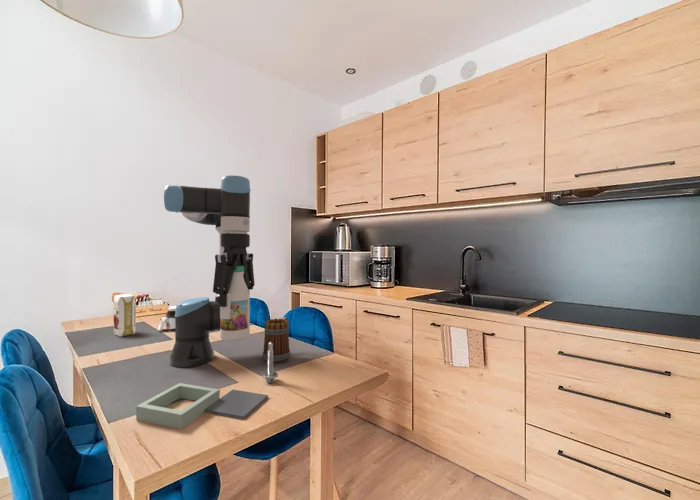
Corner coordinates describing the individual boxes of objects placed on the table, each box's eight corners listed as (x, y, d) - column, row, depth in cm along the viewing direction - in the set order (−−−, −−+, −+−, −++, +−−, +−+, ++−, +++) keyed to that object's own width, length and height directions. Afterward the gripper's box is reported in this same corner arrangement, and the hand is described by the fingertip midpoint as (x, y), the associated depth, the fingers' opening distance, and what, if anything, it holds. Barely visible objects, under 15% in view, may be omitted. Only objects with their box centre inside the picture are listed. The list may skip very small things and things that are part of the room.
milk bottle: (225, 333, 92) (225, 264, 91) (252, 333, 92) (252, 264, 92) (216, 341, 84) (216, 266, 84) (245, 341, 85) (246, 266, 84)
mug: (283, 365, 118) (283, 325, 117) (257, 362, 120) (257, 323, 120) (298, 351, 133) (299, 315, 133) (275, 349, 135) (275, 314, 135)
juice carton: (130, 330, 160) (130, 293, 160) (137, 333, 155) (137, 295, 154) (112, 334, 154) (112, 295, 153) (119, 337, 149) (119, 297, 148)
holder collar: (136, 419, 81) (136, 406, 81) (179, 394, 94) (179, 382, 94) (181, 429, 77) (181, 414, 77) (219, 401, 91) (219, 389, 90)
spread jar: (188, 329, 164) (188, 306, 164) (166, 334, 155) (166, 310, 155) (175, 325, 171) (175, 304, 171) (153, 330, 161) (153, 307, 161)
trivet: (204, 412, 85) (204, 409, 85) (232, 392, 96) (232, 389, 96) (243, 419, 82) (243, 416, 82) (267, 397, 93) (267, 395, 93)
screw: (277, 377, 107) (278, 383, 102) (262, 379, 106) (262, 385, 101) (277, 339, 107) (278, 343, 102) (262, 340, 105) (263, 344, 101)
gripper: (222, 231, 77) (221, 325, 77) (267, 234, 96) (266, 309, 97) (196, 231, 79) (196, 322, 79) (246, 234, 98) (245, 307, 99)
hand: (235, 315), depth 88 cm, fingers closed on milk bottle, 8 cm apart
